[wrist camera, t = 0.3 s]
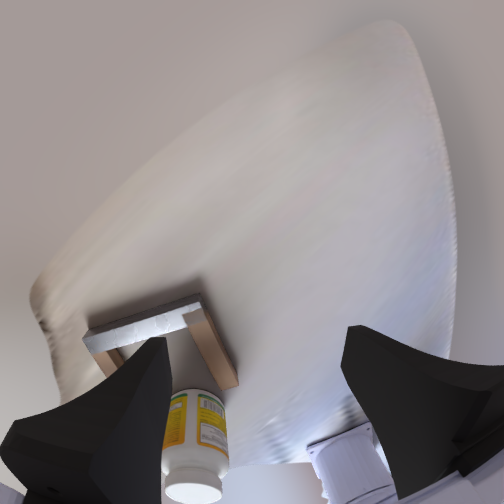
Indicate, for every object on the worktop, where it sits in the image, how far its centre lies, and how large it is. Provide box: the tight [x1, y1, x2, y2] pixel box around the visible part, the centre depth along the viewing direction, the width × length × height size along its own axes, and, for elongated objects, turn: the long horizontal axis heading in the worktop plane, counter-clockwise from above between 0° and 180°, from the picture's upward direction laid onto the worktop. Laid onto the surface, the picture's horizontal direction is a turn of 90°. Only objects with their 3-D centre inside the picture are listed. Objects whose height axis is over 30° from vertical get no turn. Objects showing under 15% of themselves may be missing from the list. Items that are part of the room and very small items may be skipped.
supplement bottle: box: [161, 389, 229, 504], centre depth 19 cm, size 5×5×10 cm
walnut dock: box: [82, 293, 239, 391], centre depth 21 cm, size 8×10×2 cm
